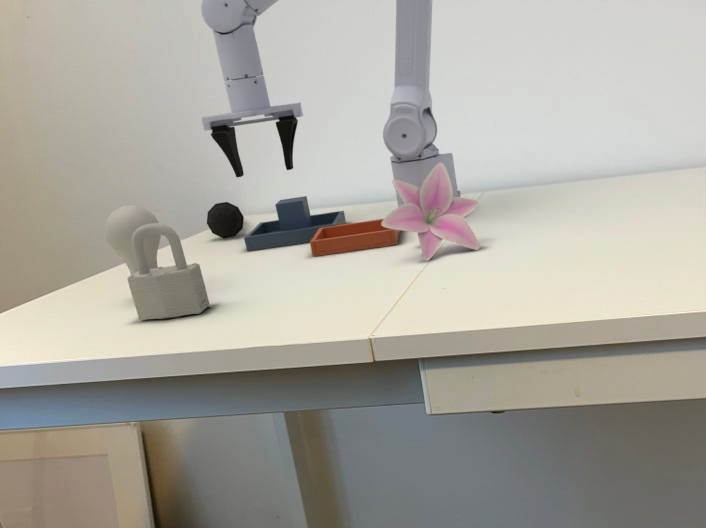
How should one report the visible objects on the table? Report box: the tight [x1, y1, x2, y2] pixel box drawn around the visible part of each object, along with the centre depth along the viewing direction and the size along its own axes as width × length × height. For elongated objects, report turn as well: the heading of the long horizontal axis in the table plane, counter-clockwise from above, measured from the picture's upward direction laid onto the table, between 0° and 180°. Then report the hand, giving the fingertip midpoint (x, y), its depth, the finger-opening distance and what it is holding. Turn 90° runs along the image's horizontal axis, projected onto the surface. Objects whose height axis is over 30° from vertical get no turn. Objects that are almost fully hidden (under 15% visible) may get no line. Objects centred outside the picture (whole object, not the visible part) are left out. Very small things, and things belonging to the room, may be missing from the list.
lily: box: [381, 163, 481, 262], centre depth 98 cm, size 12×12×10 cm
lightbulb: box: [104, 204, 162, 275], centre depth 96 cm, size 6×6×11 cm
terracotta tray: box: [309, 218, 401, 257], centre depth 110 cm, size 11×9×2 cm
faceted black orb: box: [206, 201, 245, 239], centre depth 134 cm, size 6×6×20 cm
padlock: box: [127, 222, 211, 321], centre depth 86 cm, size 7×4×10 cm, turn 87°
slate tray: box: [243, 210, 347, 252], centre depth 120 cm, size 13×11×2 cm
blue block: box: [274, 195, 313, 232], centre depth 120 cm, size 4×4×5 cm
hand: (265, 172), depth 122 cm, fingers open, 7 cm apart
